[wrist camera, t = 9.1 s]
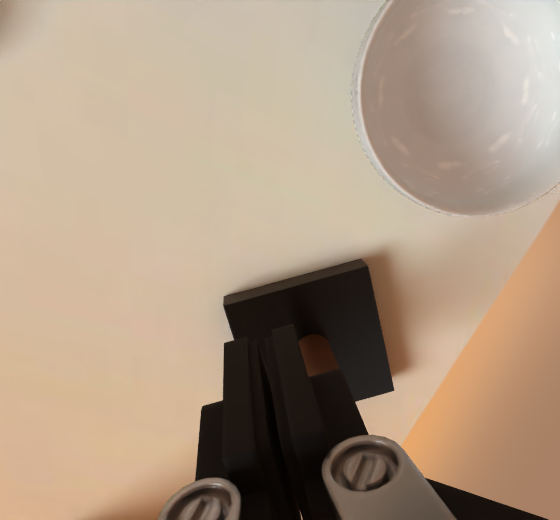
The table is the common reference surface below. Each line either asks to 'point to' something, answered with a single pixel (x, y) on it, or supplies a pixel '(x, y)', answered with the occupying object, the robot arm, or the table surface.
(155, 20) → the table surface
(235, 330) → the towel holder
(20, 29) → the table surface
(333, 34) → the table surface
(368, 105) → the cereal bowl
